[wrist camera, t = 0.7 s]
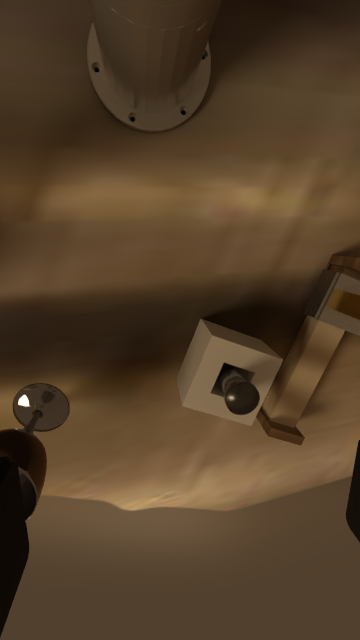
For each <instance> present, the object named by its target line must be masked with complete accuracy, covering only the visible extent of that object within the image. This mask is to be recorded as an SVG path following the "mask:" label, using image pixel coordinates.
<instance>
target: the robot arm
mask: <svg viewBox="0 0 360 640" xmlns="http://www.w3.org/2000/svg"><path fill="white" fill-rule="evenodd" d="M88 1H89V5H90V10H91V14H92V18H93V22H92V25H91V27H90V30H89V35H88V41H87V63H88V69H89V74H90V78H91V81H92V84H93V86H94V89H95V91H96V93H97V96H98V97H99V99H100V100H101V102H102V104H103V105H104V107H105V108H106V109H107V110H108V111H109V112H110V113H111V115H112V116H113V117H115V118H116V119H117V120H118V121H120V122H121V123H122V124H124V125H126V126H128V127H130V128H132V129H134V130H137V131H141V132H146V133H160V132H166V131H169V130H172V129H175V128H177V127H178V126H180V125H181V124H183V123H185V122H186V121H187V120H188V119H189V118H190V117H191V116H192V115H193V114H194V113H195V111H196V110H197V108H198V107H199V106H200V104H201V102H202V100H203V98H204V96H205V93H206V90H207V87H208V85H209V79H210V74H211V53H210V46H209V42H208V39H209V36H210V33H211V31H212V28H213V25H214V22H215V19H216V16H217V13H218V10H219V7H220V5H221V2H222V0H88ZM202 57H203V58H204V60H203V59H202ZM96 69H98V70H99V72H95V70H96ZM182 111H184V112H185V115H182V114H181V112H182ZM131 118H134V119H135V121H134V122H131V121H130V119H131ZM346 519H347V523H348V525H349V527H350V529H351V531H352V532H353V533H354V535H355V536H356V538H357V539H358V540H359V542H360V440H359V442H358V447H357V453H356V458H355V464H354V470H353V476H352V482H351V488H350V493H349V499H348V505H347V510H346ZM28 554H29V541H28V533H27V526H26V519H25V512H24V505H23V498H22V491H21V484H20V477H19V470H18V465H17V463H16V462H11V460H10V458H9V457H7V456H6V457H0V636H1V634H2V631H3V628H4V625H5V622H6V619H7V617H8V614H9V611H10V608H11V605H12V602H13V600H14V597H15V594H16V591H17V588H18V585H19V583H20V580H21V577H22V574H23V571H24V568H25V566H26V562H27V559H28Z"/></svg>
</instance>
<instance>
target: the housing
mask: <svg viewBox="0 0 360 640" xmlns="http://www.w3.org/2000/svg"><path fill="white" fill-rule="evenodd" d="M282 362H283V359H282V358H281V357H280V356H279V355H277V354H276V353H275V352H274V351H273V350H272V349H271V348H270V347H268V346H267V345H266V344H265V343H264V342H263V341H262V340H260V339H257V338H254V337H251V336H248V335H246V334H243V333H240V332H237V331H234V330H231V329H229V328H226V327H223V326H220V325H217V324H215V323H212V322H209V321H206V320H203V319H200V322H199V324H198V327H197V329H196V332H195V334H194V336H193V339H192V341H191V344H190V346H189V348H188V351H187V353H186V356H185V358H184V361H183V363H182V365H181V368H180V370H179V373H178V375H177V378H176V382H177V386H178V390H179V394H180V399H181V403H182V406H184V407H188V408H191V409H194V410H198V411H201V412H205V413H208V414H212V415H215V416H218V417H222V418H225V419H229V420H232V421H236V422H239V423H242V424H246V425H249V426H252V424H253V422H254V420H255V418H256V415H257V413H258V411H259V409H260V407H261V405H262V403H263V401H264V399H265V397H266V395H267V393H268V391H269V389H270V387H271V385H272V383H273V380H274V378H275V376H276V374H277V372H278V370H279V368H280V366H281V364H282ZM223 363H227V364H230V365H233V366H236V367H237V368H238V370H239V371H240V373H241V374H242V376H243V377H244V378H245V380H246V381H249V382H251V383H252V384H253V385H254V386H255V387H256V389H257V390H258V392H259V395H260V401H259V404H258V406H257V407H256V408H255V409H254V410H253V411H252V412H251V413H249V414H246V415H236V414H234V413H232V412H230V411H229V409H228V408H227V406H226V404H225V401H224V392H223V390H222V388H221V386H220V384H219V382H218V380H217V377H218V375H219V372H220V370H221V368H222V366H223Z"/></svg>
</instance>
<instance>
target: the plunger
mask: <svg viewBox="0 0 360 640" xmlns="http://www.w3.org/2000/svg"><path fill="white" fill-rule="evenodd" d="M217 380H218V382H219V384H220V386H221V388H222V390H223V392H224V401H225V404H226V406H227V408H228V409H229V411H230V412H232V413H234V414H236V415H246V414H249V413H251V412H252V411H253V410H254V409H255V408H256V407H257V406H258V404H259V401H260V395H259V392H258V390H257V389H256V387H255V386H254V385H253V384H252V383H251V382H249V381H246V380H245V378H244V377H243V376H242V374H241V373H240V371H239V370H238V368H237V367H236V366H233V365H230V364H227V363H223V366H222V368H221V370H220V372H219V375H218V377H217Z"/></svg>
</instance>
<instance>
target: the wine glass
mask: <svg viewBox="0 0 360 640" xmlns="http://www.w3.org/2000/svg"><path fill="white" fill-rule="evenodd" d="M13 413H14V416H15V417H16V419H17V420H18V422H19V423H20V424H21V425H23V426H24V428H23V429H5V430H0V457H6V456H7V457H9V458H10V460H11V462H16V463H17V465H18V470H19V477H20V484H21V491H22V498H23V505H24V512H25V519H26V522H27V520H28V519H29V518H30V517H31V515H32V514H33V512H34V510H35V508H36V505H37V503H38V500H39V498H40V495H41V492H42V489H43V485H44V481H45V476H46V469H47V456H46V451H45V448H44V446H43V444H42V443H41V441H40V440H39V439H38V438H37V437H36V436H35V435H34V434H33V431H38V432H46V431H51V430H54V429H56V428H58V427H59V426H60V425H62V424H63V423H64V422H65V420H66V418H67V416H68V414H69V404H68V401H67V398H66V397H65V395H64V394H63V393H62V392H61V391H60V390H59V389H57V388H56V387H53V386H51V385H48V384H42V383H41V384H31V385H29V386H26V387H24V388H23V389H21V390H20V391H19V392H18V393H17V394H16V396H15V398H14V401H13Z"/></svg>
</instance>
